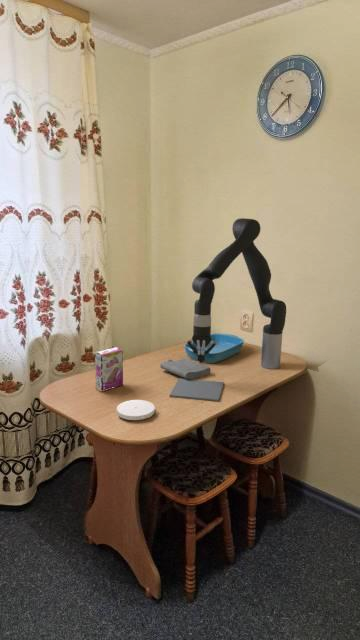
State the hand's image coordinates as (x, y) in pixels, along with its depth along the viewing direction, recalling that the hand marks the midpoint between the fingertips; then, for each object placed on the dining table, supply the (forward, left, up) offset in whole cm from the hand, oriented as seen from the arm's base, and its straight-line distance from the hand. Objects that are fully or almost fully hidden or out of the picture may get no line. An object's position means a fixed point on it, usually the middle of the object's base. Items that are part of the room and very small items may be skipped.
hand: (201, 362), depth 190 cm
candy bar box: (+15, -37, -9) cm, 41 cm away
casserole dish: (-40, +1, -10) cm, 41 cm away
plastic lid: (+36, -19, -10) cm, 42 cm away
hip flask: (-4, -1, -7) cm, 8 cm away
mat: (+9, 0, -9) cm, 13 cm away
